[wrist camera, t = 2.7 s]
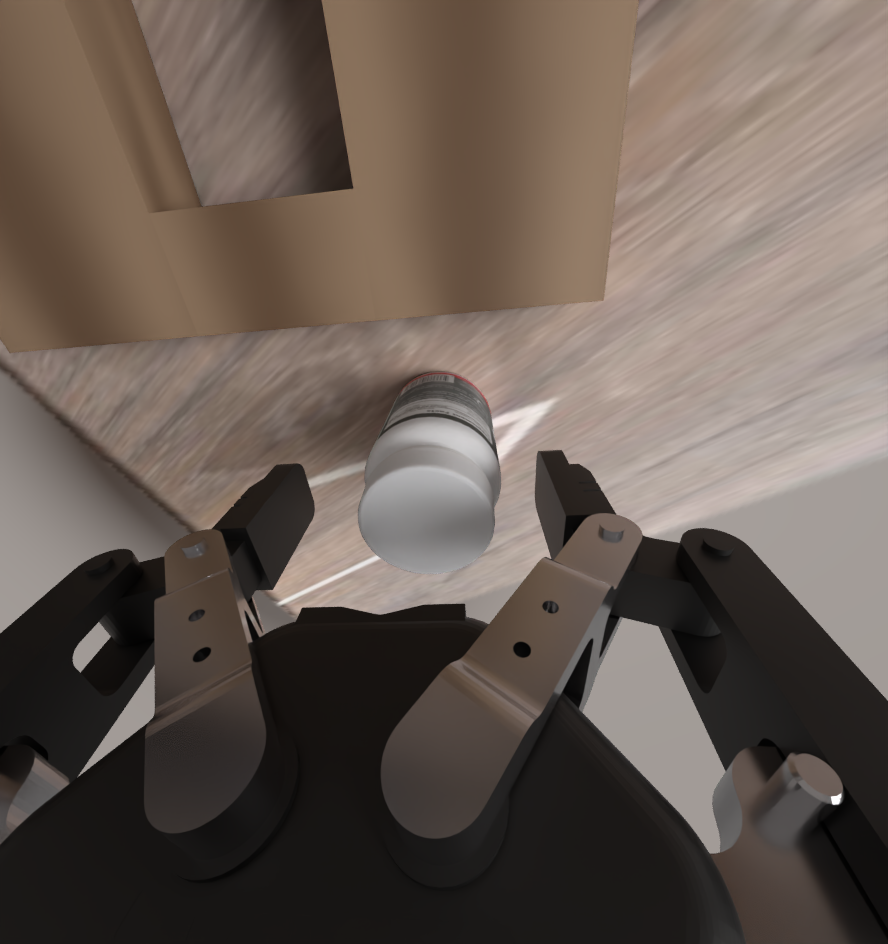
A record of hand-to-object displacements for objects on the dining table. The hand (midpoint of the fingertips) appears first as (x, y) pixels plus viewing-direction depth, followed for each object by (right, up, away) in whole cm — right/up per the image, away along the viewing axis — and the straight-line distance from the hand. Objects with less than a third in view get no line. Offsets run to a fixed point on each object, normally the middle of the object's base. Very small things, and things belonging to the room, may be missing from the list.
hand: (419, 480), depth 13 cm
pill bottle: (+1, +3, +5) cm, 6 cm away
